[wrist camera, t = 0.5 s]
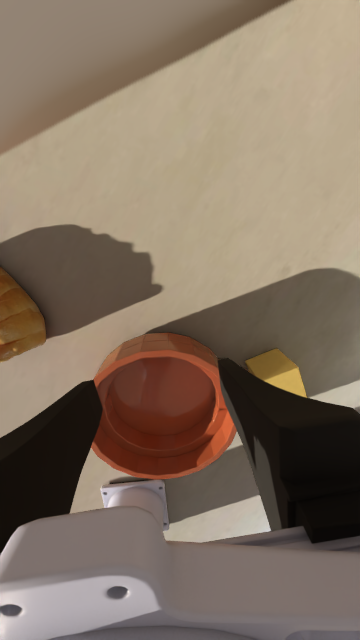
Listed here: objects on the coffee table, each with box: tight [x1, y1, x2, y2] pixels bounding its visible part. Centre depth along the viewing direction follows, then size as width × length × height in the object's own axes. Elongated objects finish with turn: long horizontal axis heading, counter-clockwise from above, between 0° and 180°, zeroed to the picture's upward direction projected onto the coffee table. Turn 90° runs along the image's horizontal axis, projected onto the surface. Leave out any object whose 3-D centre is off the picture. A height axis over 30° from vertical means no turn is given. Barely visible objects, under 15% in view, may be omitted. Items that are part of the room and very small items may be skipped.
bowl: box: [91, 333, 237, 480], centre depth 21 cm, size 14×14×4 cm
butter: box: [245, 348, 307, 398], centre depth 22 cm, size 8×4×4 cm, turn 24°
